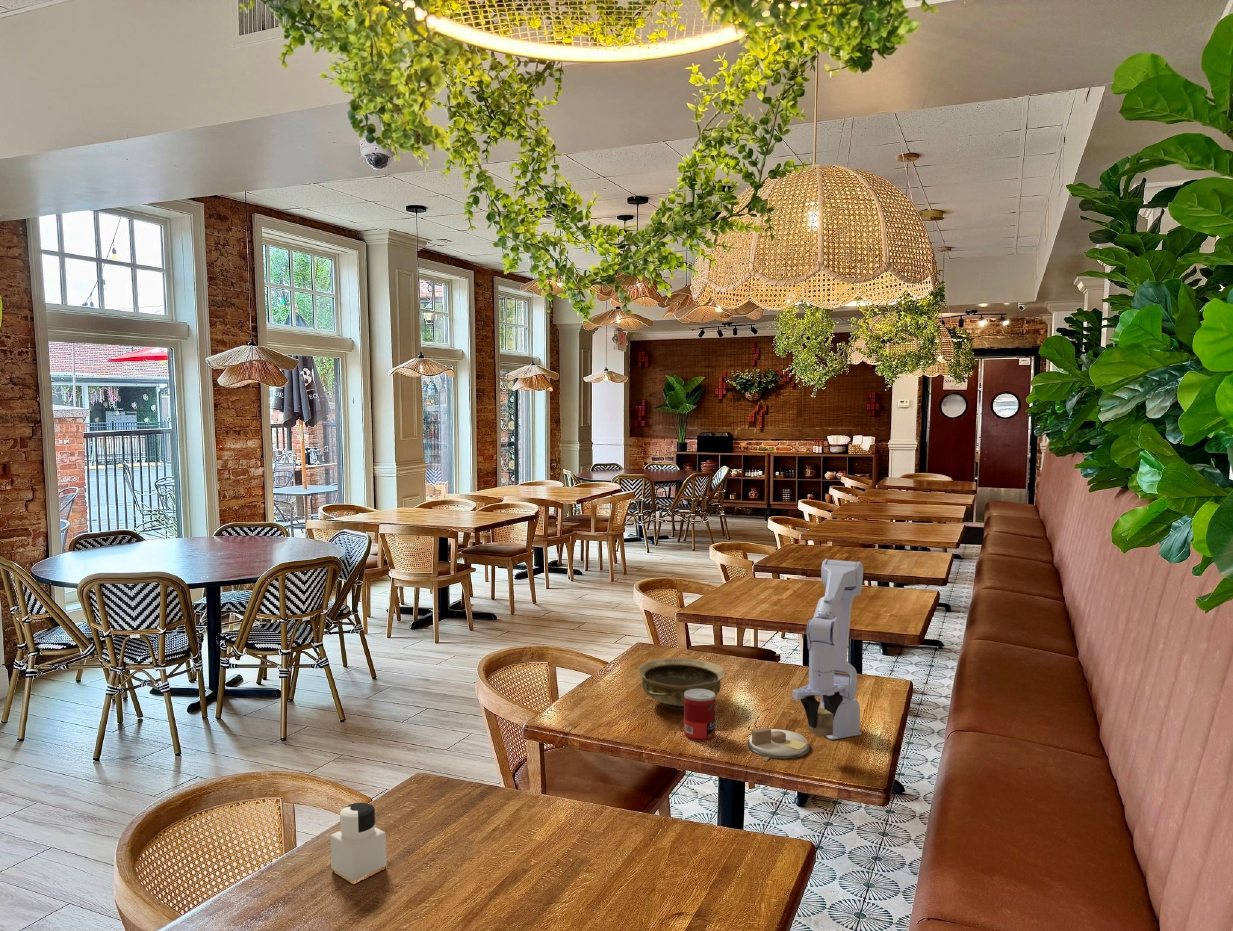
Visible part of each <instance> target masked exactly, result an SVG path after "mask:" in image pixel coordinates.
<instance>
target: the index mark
mask: <svg viewBox="0 0 1233 931" xmlns="http://www.w3.org/2000/svg"><path fill="white" fill-rule="evenodd" d="M770 759H771V758H770V757H767V756H763V758H762V759H761V761H762V762H768V761H769V760H770Z"/></svg>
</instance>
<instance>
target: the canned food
mask: <svg viewBox="0 0 1233 931" xmlns="http://www.w3.org/2000/svg"><path fill="white" fill-rule="evenodd" d="M716 697H717V695H716V696H715V693H714V692H713V691H710V690H707V689H690V690H687V691H685V693H684V710H683V734H684V737H685V738H687V739H688V740H690V739H691V741H694V740H696V741H695V742H707V741H711V740H714V739H715V736H716V711H717V710H716V709H717V708H716V706H717V705H716V704H717V703H716V701H717V698H716Z"/></svg>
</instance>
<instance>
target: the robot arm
mask: <svg viewBox="0 0 1233 931" xmlns="http://www.w3.org/2000/svg"><path fill="white" fill-rule="evenodd" d="M820 576H821V581H822V584H823V587H824V589H825V591H824V596H822V597H820V598H819V599H818V601H817V605H816V608H815V611H814V614H813V617H812V618H811V619H808V621H807V624H806V639H807V649H808V654H809V656H808V657H809V658H808V661H809V662H808V666H809V667H808V684H807V685H805V686H802V687H799V688H796V689H792V699H794V700H795V701H800V702H801V705H802V706H803V709H804V711H805V715H806V719H807V723H808V727H809V726H811V727H812V728H816V725H817V712H818V709H821V708H824V709H826V710H827V711H829V712H831V713H833V735H828V736H825V737H826V738H827V739H829V740H830V741H831V740H838V739H844V738H850V737H855V736H861V735H863V732H861V730H860V729H861V707H860V703H859V701H858V700H857V698H856V696H857V691H858V690H857V689H858V678H857V677H858V673H857V670H856V668H855V667H854V666H853V665H852V664H851V663H850V662H849V661H848V650H849V641H850V640H849V638H850V630H851V629H850V627H851V618H852V617H851V615H852V606H853V602H854V600H855V597H857V596H860V595H861V592H862V590H863V580H864V579H863V578H864V565H863V563H862V561H860V560H859V561H849V560H840V559H829V558H824V560H823V561H822V563H821V570H820ZM816 697H819V700H820V701H818V700H817V699H816ZM819 707H820V708H819Z"/></svg>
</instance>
